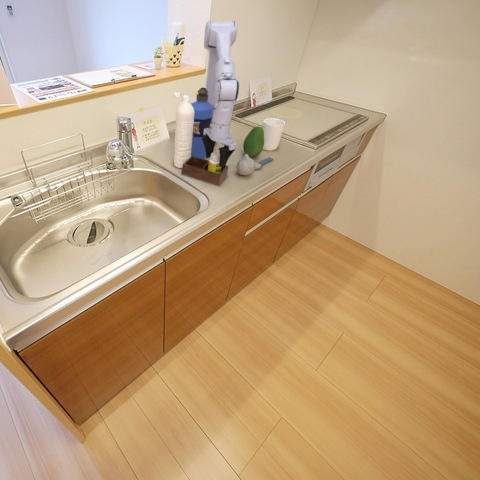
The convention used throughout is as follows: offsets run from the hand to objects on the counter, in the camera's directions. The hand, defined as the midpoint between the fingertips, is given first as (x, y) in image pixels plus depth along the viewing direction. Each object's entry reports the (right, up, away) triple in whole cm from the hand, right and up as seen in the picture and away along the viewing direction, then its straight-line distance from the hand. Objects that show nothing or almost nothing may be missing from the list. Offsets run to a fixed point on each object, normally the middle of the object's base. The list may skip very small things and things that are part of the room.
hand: (215, 161), depth 97 cm
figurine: (+12, -3, +6) cm, 14 cm away
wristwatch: (+18, +1, +10) cm, 21 cm away
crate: (-3, -3, +6) cm, 7 cm away
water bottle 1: (-12, +3, +12) cm, 17 cm away
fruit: (+18, +7, +17) cm, 26 cm away
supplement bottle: (0, -4, +4) cm, 6 cm away
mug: (+29, +14, +24) cm, 40 cm away
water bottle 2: (-4, +8, +18) cm, 21 cm away
